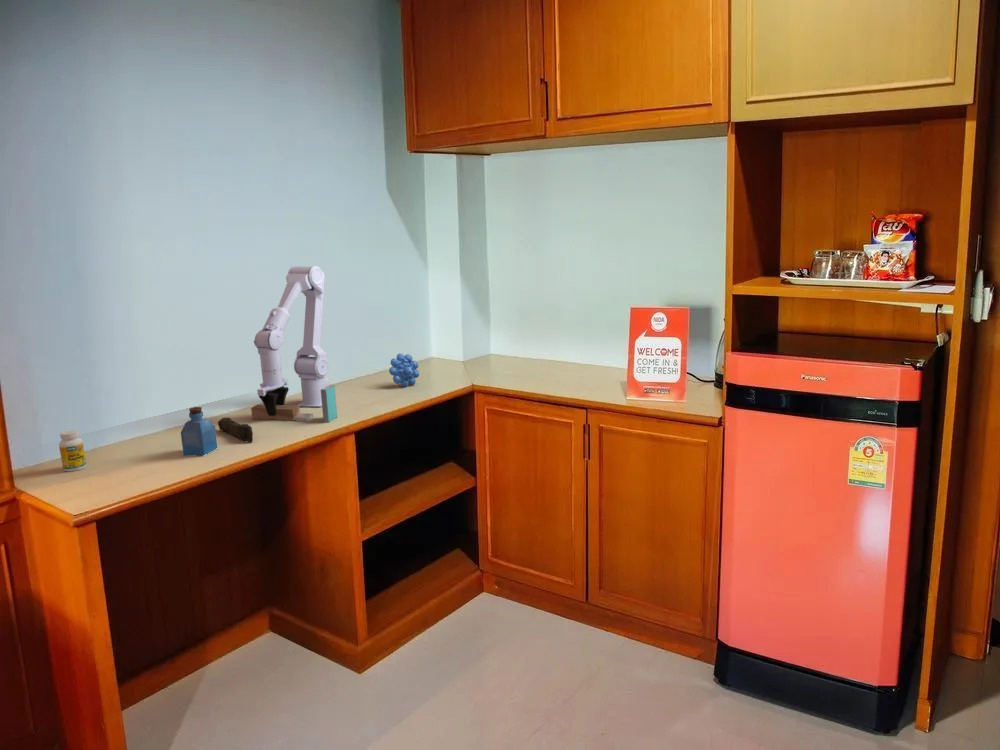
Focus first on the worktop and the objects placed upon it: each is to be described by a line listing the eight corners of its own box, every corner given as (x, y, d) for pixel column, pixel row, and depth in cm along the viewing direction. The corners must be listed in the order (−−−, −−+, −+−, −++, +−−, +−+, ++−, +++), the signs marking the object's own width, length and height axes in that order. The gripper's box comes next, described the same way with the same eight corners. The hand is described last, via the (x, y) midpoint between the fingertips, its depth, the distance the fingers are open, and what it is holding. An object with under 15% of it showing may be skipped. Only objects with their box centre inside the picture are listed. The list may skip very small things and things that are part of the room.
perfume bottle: (217, 448, 221) (212, 405, 218) (204, 456, 215) (199, 411, 213) (197, 448, 222) (191, 405, 220) (183, 455, 216) (177, 411, 214)
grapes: (397, 392, 277) (395, 357, 274) (387, 388, 282) (384, 354, 279) (426, 386, 284) (424, 351, 281) (415, 383, 289) (413, 349, 286)
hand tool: (218, 431, 238) (216, 416, 237) (232, 429, 241) (230, 413, 240) (242, 446, 224) (240, 429, 222) (256, 442, 226) (254, 426, 225)
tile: (332, 417, 248) (329, 384, 246) (337, 417, 248) (334, 384, 246) (323, 422, 243) (320, 389, 240) (328, 422, 242) (325, 389, 240)
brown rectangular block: (260, 415, 254) (259, 404, 253) (313, 416, 249) (312, 405, 249) (251, 419, 249) (250, 408, 249) (305, 421, 245) (304, 409, 244)
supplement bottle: (81, 463, 213) (75, 427, 211) (90, 467, 209) (84, 431, 207) (59, 469, 209) (53, 433, 207) (68, 473, 206) (62, 436, 203)
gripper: (272, 364, 255) (276, 406, 258) (246, 374, 241) (251, 419, 244) (292, 364, 253) (296, 407, 256) (267, 375, 239) (272, 420, 242)
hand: (275, 413), depth 250 cm, fingers closed on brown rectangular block, 4 cm apart
